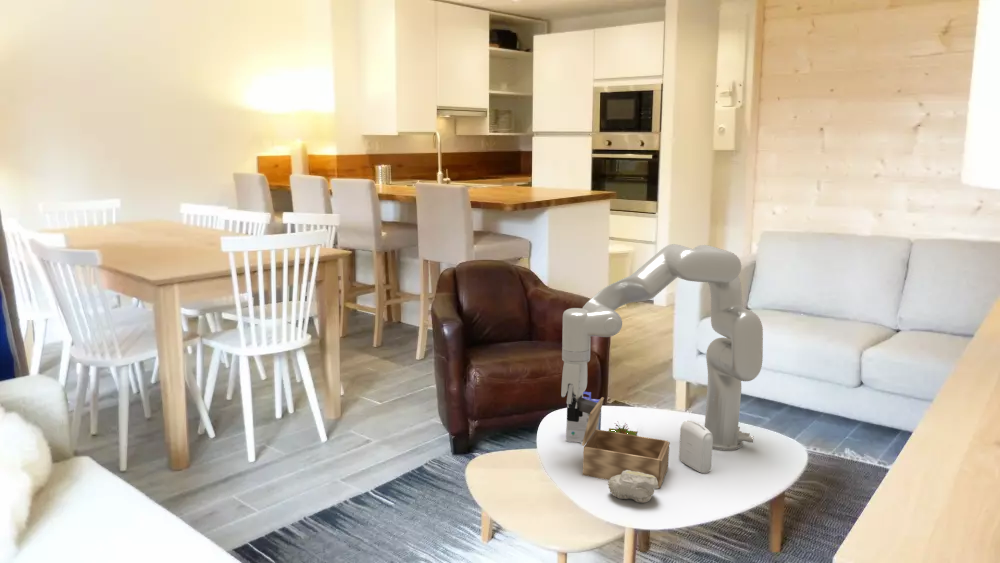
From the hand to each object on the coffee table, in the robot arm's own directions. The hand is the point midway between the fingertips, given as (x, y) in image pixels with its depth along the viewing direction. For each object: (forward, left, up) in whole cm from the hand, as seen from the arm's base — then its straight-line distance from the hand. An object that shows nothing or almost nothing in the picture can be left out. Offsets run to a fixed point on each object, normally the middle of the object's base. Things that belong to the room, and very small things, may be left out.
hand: (574, 417), depth 206 cm
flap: (-5, 0, 0) cm, 5 cm away
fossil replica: (-19, +14, -13) cm, 27 cm away
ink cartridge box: (+2, -16, -13) cm, 21 cm away
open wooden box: (-14, 0, -13) cm, 20 cm away
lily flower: (-8, -23, -14) cm, 28 cm away
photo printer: (-31, -11, -13) cm, 36 cm away
